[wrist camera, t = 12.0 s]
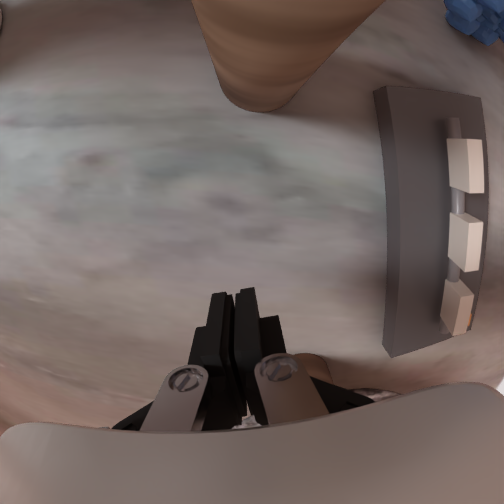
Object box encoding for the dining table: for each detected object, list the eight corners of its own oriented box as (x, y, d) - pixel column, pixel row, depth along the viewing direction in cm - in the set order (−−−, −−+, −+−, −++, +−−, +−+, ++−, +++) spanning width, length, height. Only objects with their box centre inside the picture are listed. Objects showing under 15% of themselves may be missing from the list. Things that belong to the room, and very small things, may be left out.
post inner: (214, 48, 15) (165, -111, 2) (291, 39, 15) (367, -110, 2) (225, 117, 17) (175, 16, 3) (305, 107, 16) (441, 20, 3)
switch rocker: (441, 118, 14) (463, 115, 12) (456, 118, 14) (478, 116, 11) (436, 328, 20) (448, 351, 17) (448, 325, 19) (461, 348, 16)
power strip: (373, 91, 16) (388, 85, 14) (464, 99, 16) (482, 97, 14) (382, 344, 22) (392, 360, 20) (459, 319, 22) (472, 331, 20)
